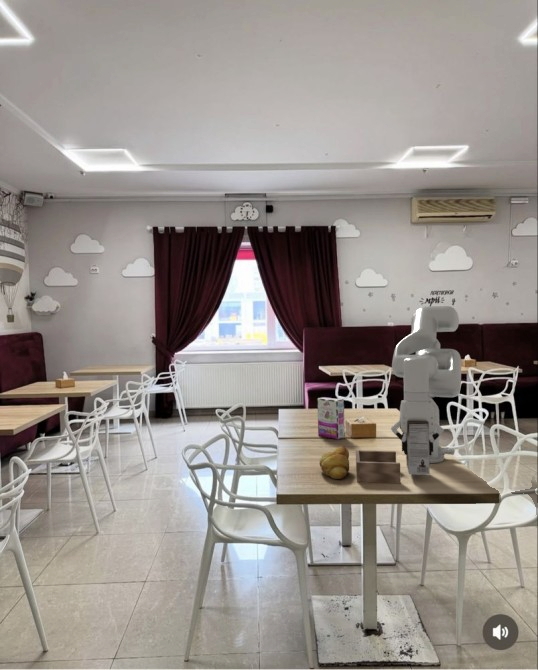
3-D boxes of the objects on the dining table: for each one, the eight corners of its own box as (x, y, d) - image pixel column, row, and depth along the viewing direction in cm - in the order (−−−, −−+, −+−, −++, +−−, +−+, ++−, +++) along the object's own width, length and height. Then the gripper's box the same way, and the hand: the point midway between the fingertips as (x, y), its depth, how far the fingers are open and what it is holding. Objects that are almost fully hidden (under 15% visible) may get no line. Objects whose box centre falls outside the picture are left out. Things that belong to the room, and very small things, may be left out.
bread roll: (351, 481, 137) (350, 456, 136) (319, 481, 138) (318, 455, 138) (349, 468, 149) (348, 444, 149) (319, 467, 151) (319, 444, 150)
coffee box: (405, 464, 144) (404, 415, 144) (426, 465, 143) (425, 415, 143) (408, 474, 135) (407, 422, 135) (430, 475, 134) (429, 422, 134)
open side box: (395, 469, 147) (395, 451, 147) (400, 483, 134) (400, 463, 134) (356, 467, 149) (355, 450, 149) (357, 481, 136) (356, 462, 136)
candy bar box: (345, 437, 188) (344, 399, 187) (337, 440, 184) (337, 400, 184) (325, 433, 196) (324, 396, 195) (317, 435, 192) (316, 397, 192)
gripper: (443, 395, 141) (443, 451, 141) (386, 394, 144) (387, 449, 144) (448, 399, 133) (449, 458, 134) (388, 398, 136) (390, 456, 137)
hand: (417, 453), depth 139 cm, fingers closed on coffee box, 6 cm apart
